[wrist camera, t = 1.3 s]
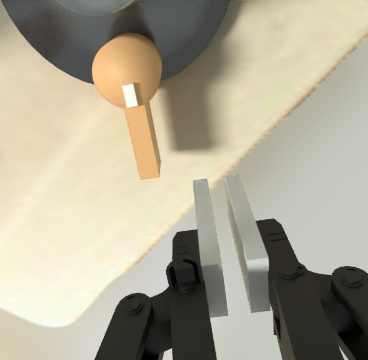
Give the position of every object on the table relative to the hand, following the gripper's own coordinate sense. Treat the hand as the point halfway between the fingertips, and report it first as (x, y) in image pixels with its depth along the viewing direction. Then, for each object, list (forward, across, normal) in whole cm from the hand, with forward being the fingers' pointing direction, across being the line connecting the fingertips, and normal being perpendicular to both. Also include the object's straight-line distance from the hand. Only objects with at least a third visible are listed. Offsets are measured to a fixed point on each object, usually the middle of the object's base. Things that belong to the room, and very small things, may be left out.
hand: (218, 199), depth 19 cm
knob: (+14, -5, +2) cm, 15 cm away
